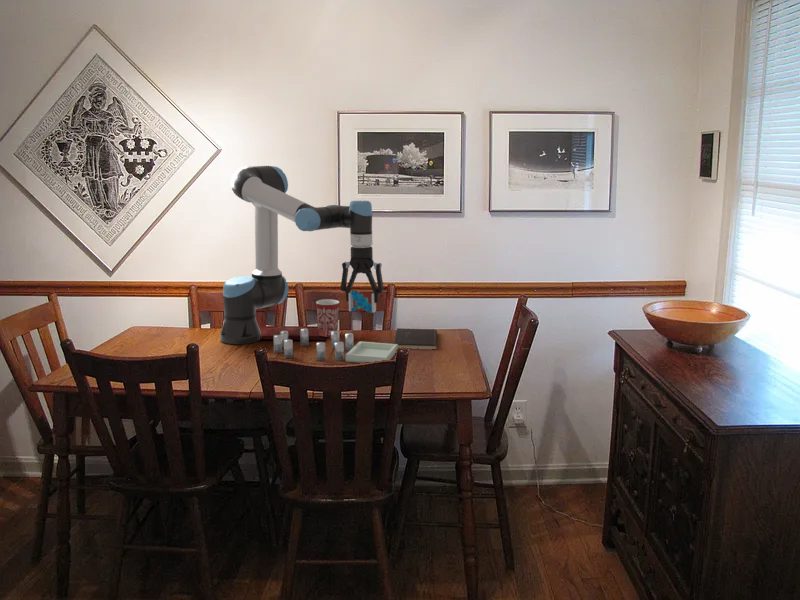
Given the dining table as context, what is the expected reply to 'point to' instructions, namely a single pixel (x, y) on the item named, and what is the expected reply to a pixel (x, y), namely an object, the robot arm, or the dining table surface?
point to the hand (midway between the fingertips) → (362, 311)
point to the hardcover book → (416, 338)
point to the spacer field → (287, 344)
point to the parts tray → (371, 352)
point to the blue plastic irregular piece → (360, 302)
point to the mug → (327, 315)
